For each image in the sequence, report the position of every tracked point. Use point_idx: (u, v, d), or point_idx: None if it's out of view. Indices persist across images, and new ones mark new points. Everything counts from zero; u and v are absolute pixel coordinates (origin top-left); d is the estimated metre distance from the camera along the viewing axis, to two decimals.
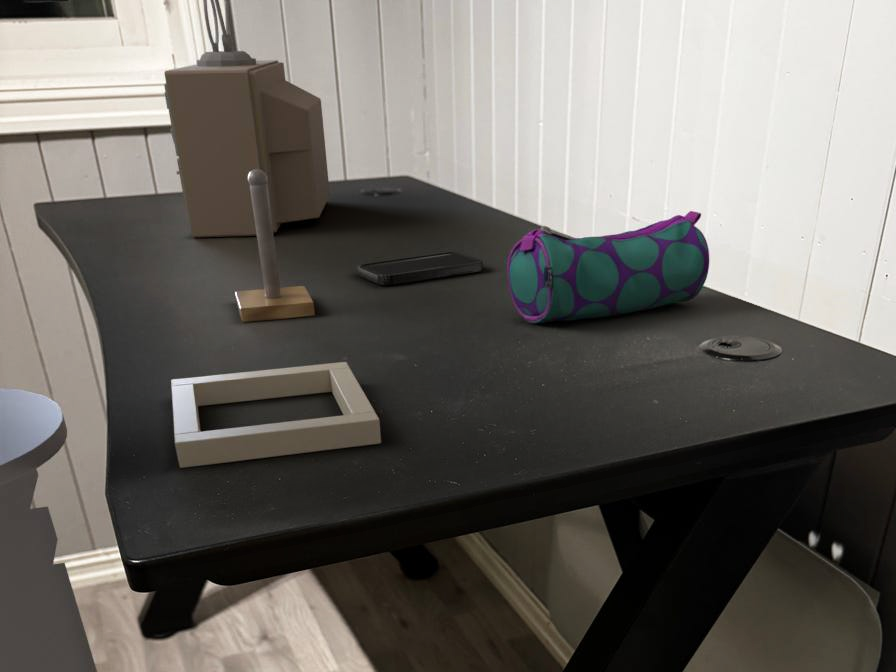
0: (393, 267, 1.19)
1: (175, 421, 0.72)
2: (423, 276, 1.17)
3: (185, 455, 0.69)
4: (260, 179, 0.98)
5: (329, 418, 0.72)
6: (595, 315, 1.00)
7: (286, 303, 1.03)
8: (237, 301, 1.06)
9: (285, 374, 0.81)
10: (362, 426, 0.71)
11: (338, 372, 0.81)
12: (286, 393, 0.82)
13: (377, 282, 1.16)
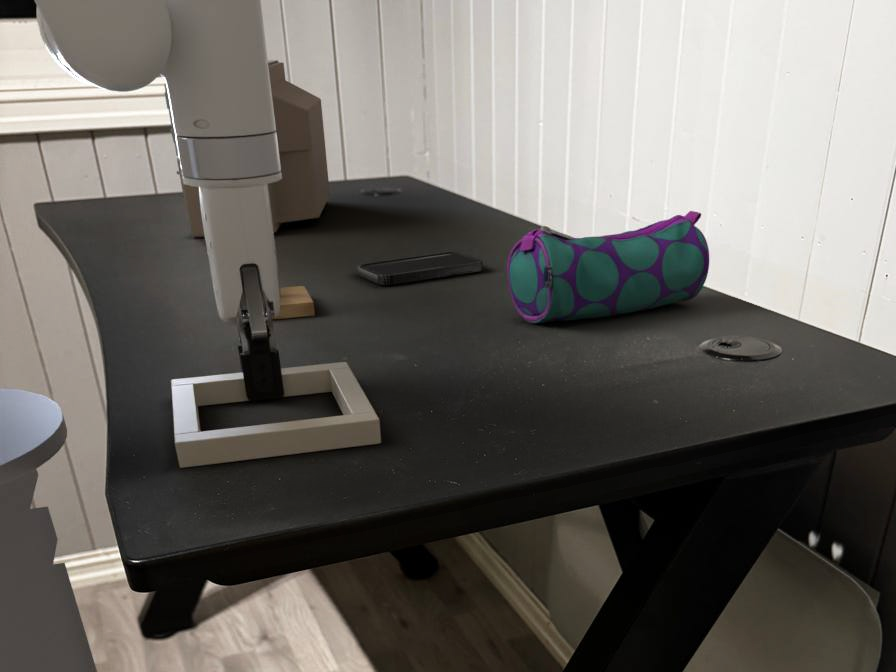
0: (393, 267, 1.19)
1: (175, 421, 0.72)
2: (423, 276, 1.17)
3: (185, 455, 0.69)
4: None
5: (329, 418, 0.72)
6: (595, 315, 1.00)
7: (286, 303, 1.03)
8: None
9: (285, 374, 0.81)
10: (362, 426, 0.71)
11: (338, 372, 0.81)
12: (286, 393, 0.82)
13: (377, 282, 1.16)
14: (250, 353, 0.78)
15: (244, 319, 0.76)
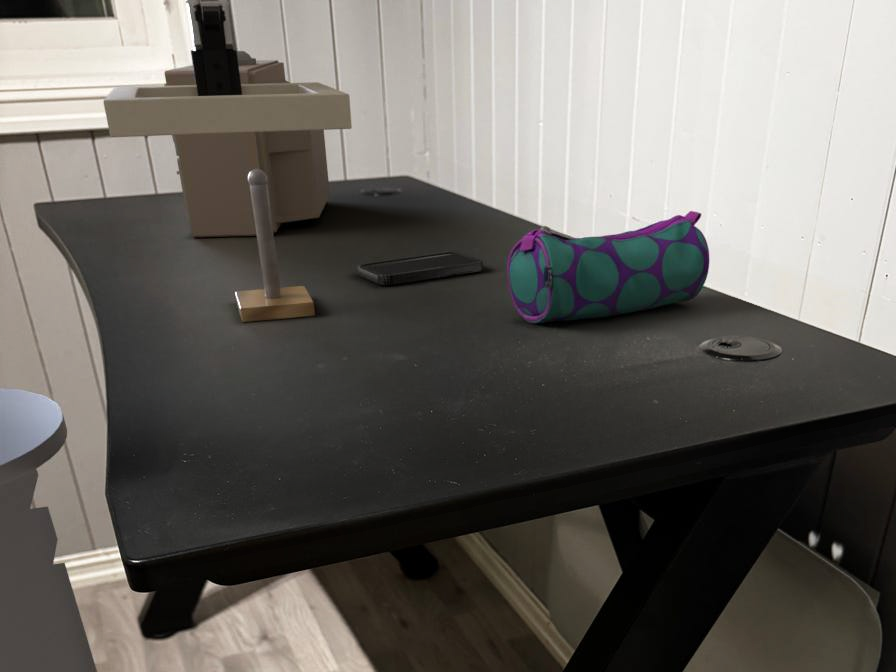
0: (393, 267, 1.19)
1: (109, 95, 0.61)
2: (423, 276, 1.17)
3: (116, 119, 0.58)
4: (260, 179, 0.98)
5: (290, 94, 0.61)
6: (595, 315, 1.00)
7: (286, 303, 1.03)
8: (237, 301, 1.06)
9: (246, 85, 0.70)
10: (329, 102, 0.60)
11: (307, 84, 0.70)
12: None
13: (377, 282, 1.16)
14: (203, 45, 0.67)
15: None
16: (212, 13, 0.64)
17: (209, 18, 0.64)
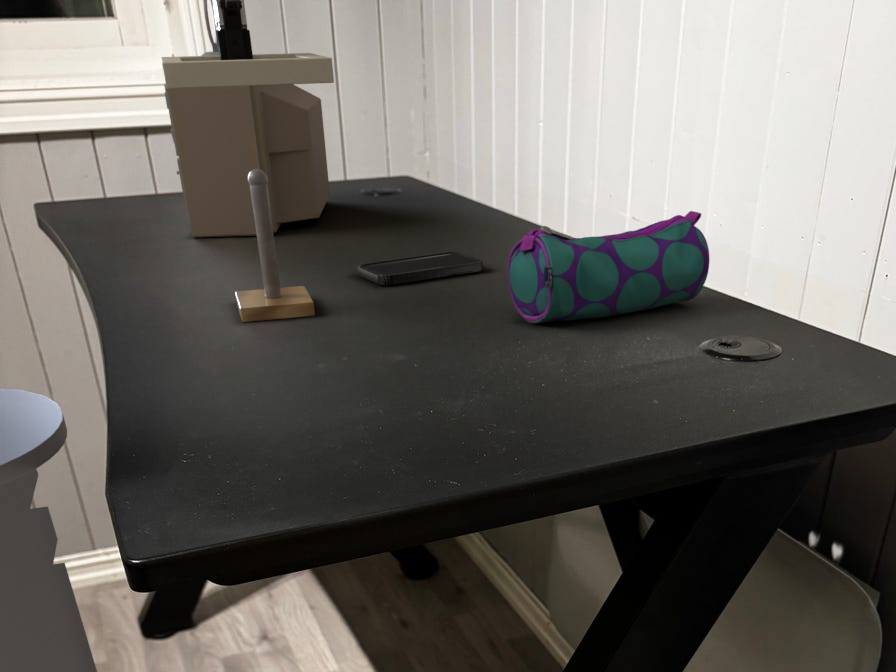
0: (393, 267, 1.19)
1: None
2: (423, 276, 1.17)
3: (171, 75, 0.84)
4: (260, 179, 0.98)
5: (290, 58, 0.87)
6: (595, 315, 1.00)
7: (286, 303, 1.03)
8: (237, 301, 1.06)
9: (257, 55, 0.96)
10: (317, 63, 0.86)
11: None
12: None
13: (377, 282, 1.16)
14: (225, 26, 0.93)
15: None
16: (233, 2, 0.90)
17: (230, 6, 0.90)
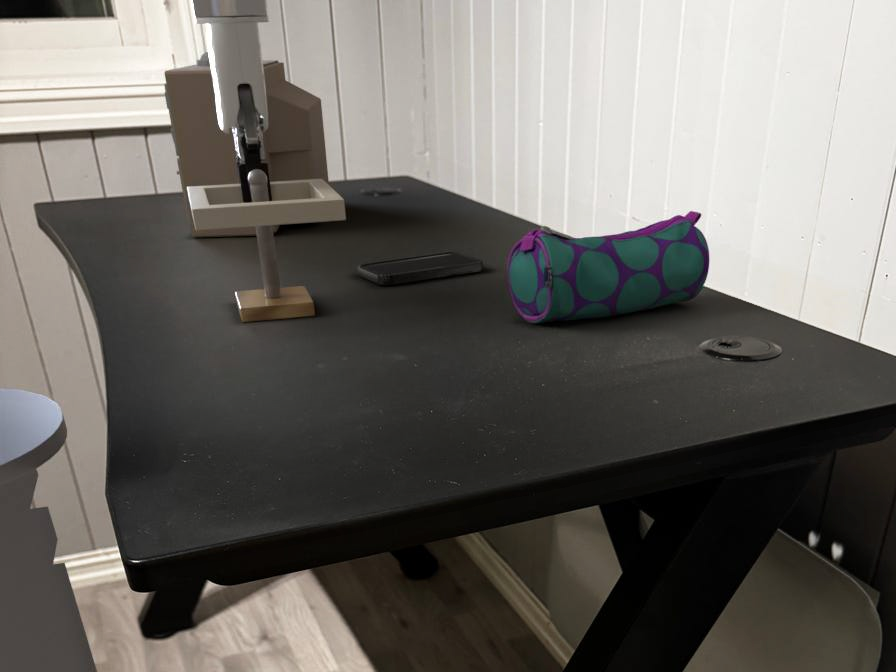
0: (393, 267, 1.19)
1: (191, 201, 0.96)
2: (423, 276, 1.17)
3: (199, 219, 0.93)
4: (260, 179, 0.98)
5: (307, 199, 0.96)
6: (595, 315, 1.00)
7: (286, 303, 1.03)
8: (237, 301, 1.06)
9: (274, 184, 1.05)
10: (331, 204, 0.96)
11: (315, 182, 1.05)
12: (275, 200, 1.06)
13: (377, 282, 1.16)
14: (246, 162, 1.02)
15: (241, 133, 1.00)
16: (253, 145, 0.99)
17: (251, 147, 0.99)
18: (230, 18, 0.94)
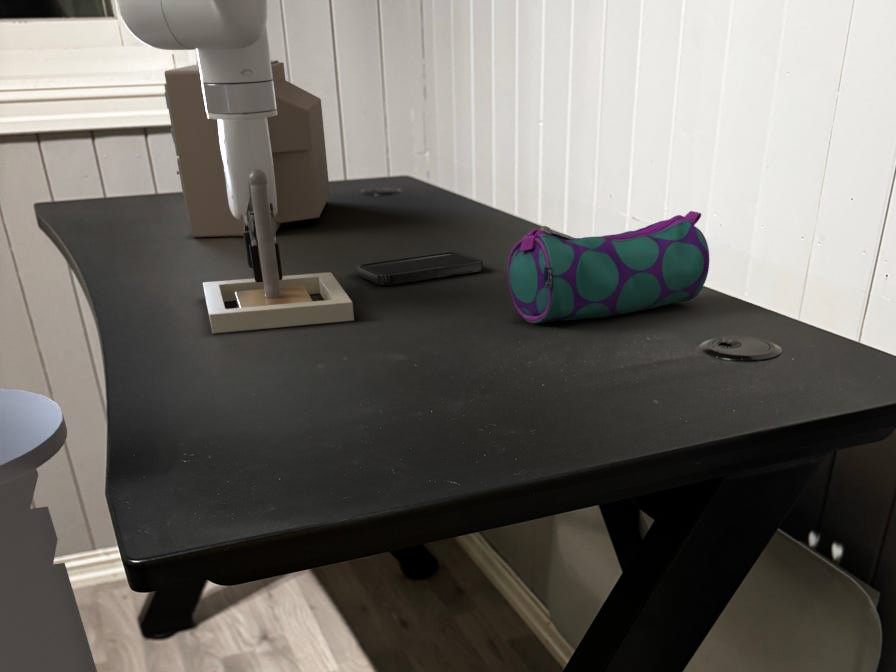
0: (393, 267, 1.19)
1: (208, 303, 1.02)
2: (423, 276, 1.17)
3: (216, 323, 0.99)
4: (260, 179, 0.98)
5: (317, 301, 1.02)
6: (595, 315, 1.00)
7: (286, 303, 1.03)
8: (237, 301, 1.06)
9: (285, 279, 1.11)
10: (340, 307, 1.01)
11: (324, 277, 1.11)
12: None
13: (377, 282, 1.16)
14: (257, 243, 1.05)
15: (251, 215, 1.04)
16: None
17: None
18: (241, 115, 0.99)
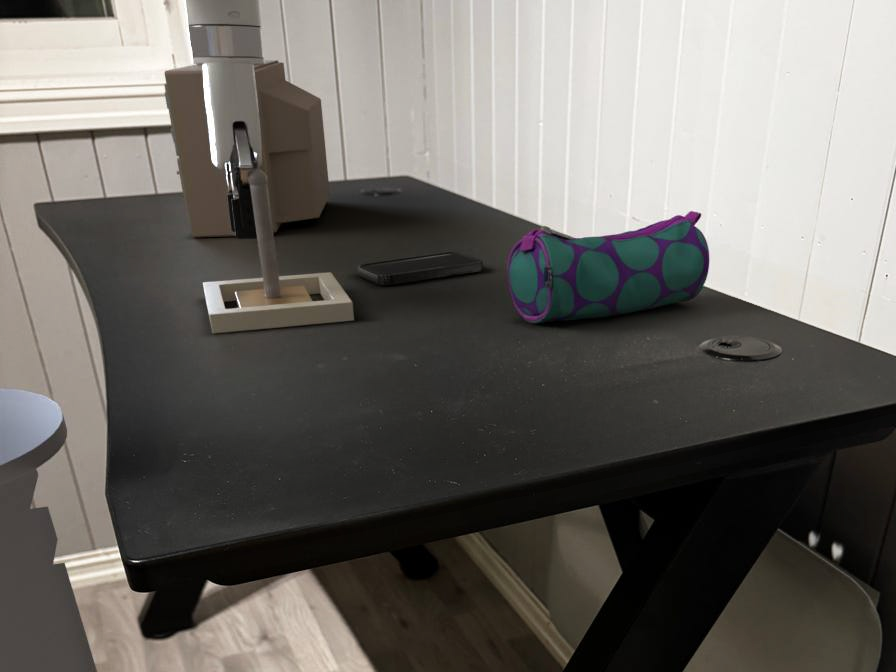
0: (393, 267, 1.19)
1: (208, 303, 1.02)
2: (423, 276, 1.17)
3: (216, 323, 0.99)
4: (260, 179, 0.98)
5: (317, 301, 1.02)
6: (595, 315, 1.00)
7: (286, 303, 1.03)
8: (237, 301, 1.06)
9: (285, 279, 1.11)
10: (340, 307, 1.01)
11: (324, 277, 1.11)
12: None
13: (377, 282, 1.16)
14: (239, 197, 1.02)
15: (235, 167, 1.01)
16: (247, 173, 0.99)
17: (245, 178, 0.99)
18: (227, 58, 0.96)
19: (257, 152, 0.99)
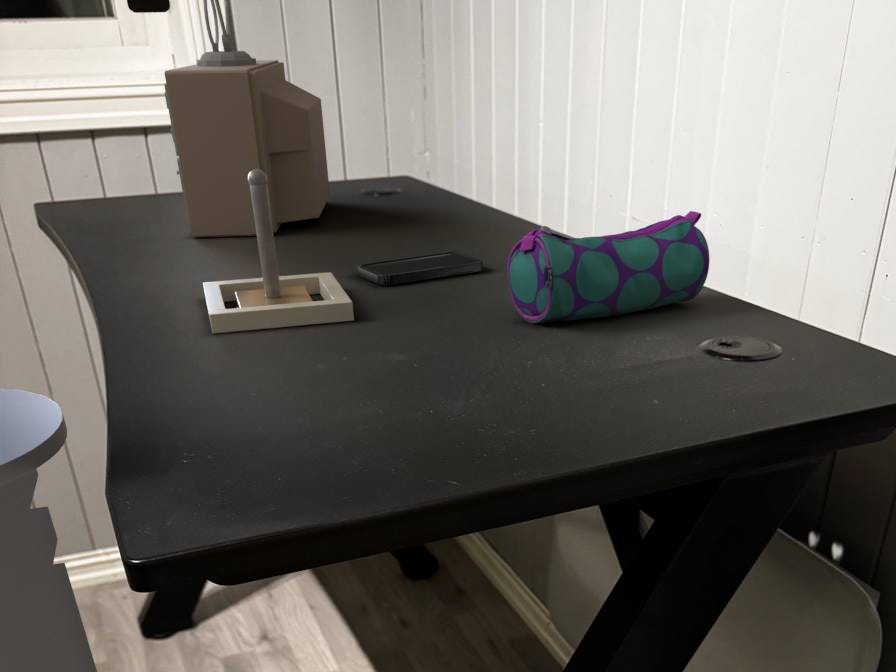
0: (393, 267, 1.19)
1: (208, 303, 1.02)
2: (423, 276, 1.17)
3: (216, 323, 0.99)
4: (260, 179, 0.98)
5: (317, 301, 1.02)
6: (595, 315, 1.00)
7: (286, 303, 1.03)
8: (237, 301, 1.06)
9: (285, 279, 1.11)
10: (340, 307, 1.01)
11: (324, 277, 1.11)
12: None
13: (377, 282, 1.16)
14: None
15: None
16: None
17: None
18: None
19: None
